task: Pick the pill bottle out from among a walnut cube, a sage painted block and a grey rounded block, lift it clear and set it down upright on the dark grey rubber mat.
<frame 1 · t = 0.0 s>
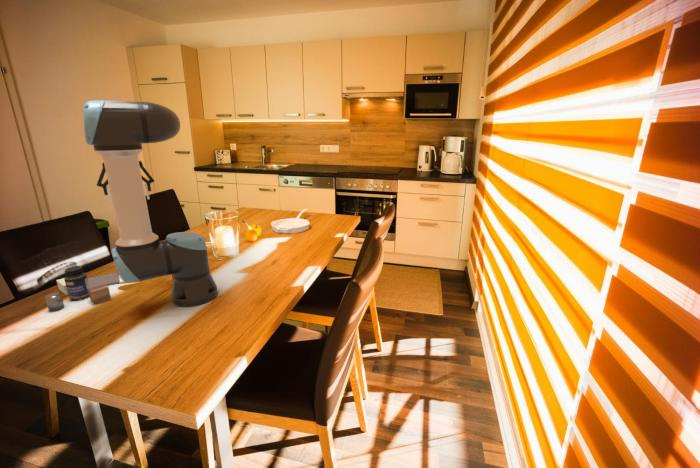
hand: (130, 200, 143), 28 cm above the table, fingers open, 13 cm apart
mat: (102, 281, 132), on the table
grey rounded block: (56, 308, 112), on the table
sage block: (69, 290, 125), on the table
walnut cube: (100, 300, 117), on the table
pan: (295, 225, 210), on the table
pill bottle: (81, 297, 120), on the table
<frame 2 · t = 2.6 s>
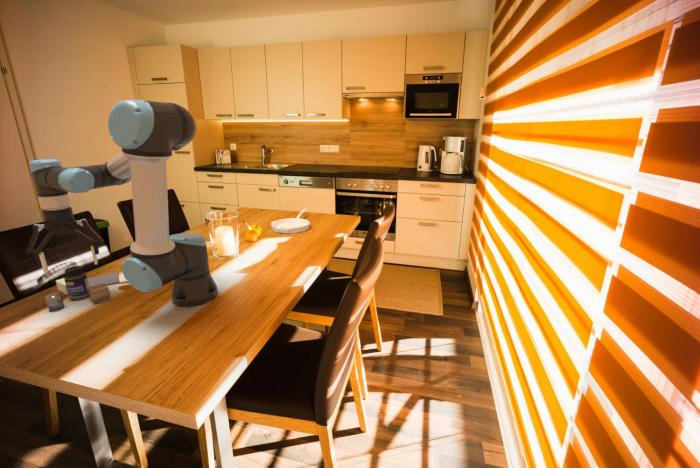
hand: (72, 267, 116), 11 cm above the table, fingers open, 13 cm apart
nothing on the table moved.
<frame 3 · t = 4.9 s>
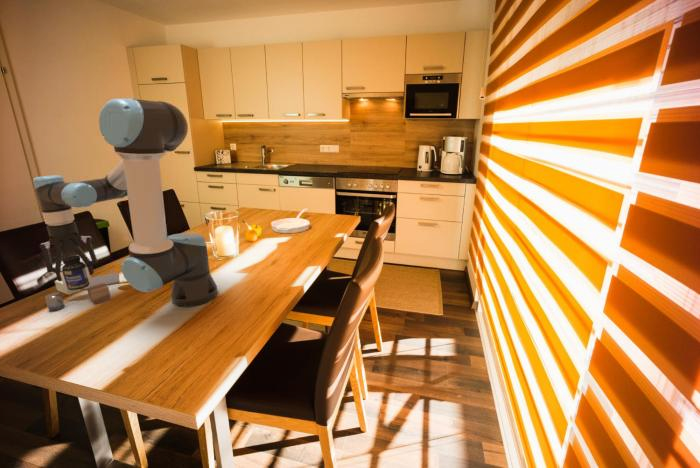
hand: (79, 285, 118), 4 cm above the table, fingers closed on pill bottle, 6 cm apart
pill bottle: (79, 287, 118), point 4 cm above the table, touching gripper
everything else where it was.
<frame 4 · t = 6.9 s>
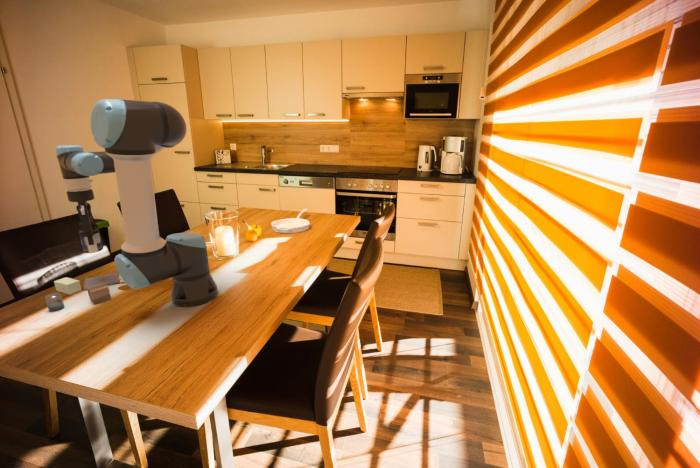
hand: (94, 249, 128), 13 cm above the table, fingers closed on pill bottle, 6 cm apart
pill bottle: (93, 251, 128), point 13 cm above the table, touching gripper
everything else where it was.
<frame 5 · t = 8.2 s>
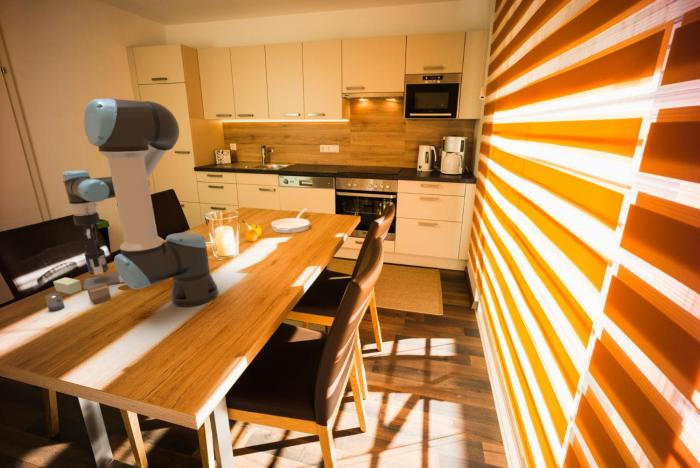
hand: (99, 270, 130), 5 cm above the table, fingers closed on pill bottle, 6 cm apart
pill bottle: (99, 272, 130), point 4 cm above the table, touching gripper
everything else where it was.
when the fingers open (2 cm above the table, at t = 9.1 s): pill bottle drops 1 cm, resting on mat.
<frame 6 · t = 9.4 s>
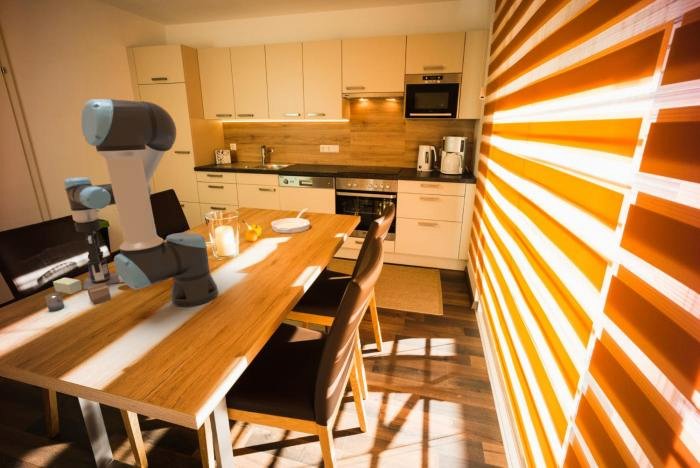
hand: (100, 274, 131), 3 cm above the table, fingers open, 10 cm apart
pill bottle: (101, 280, 131), resting on mat
everything else where it was.
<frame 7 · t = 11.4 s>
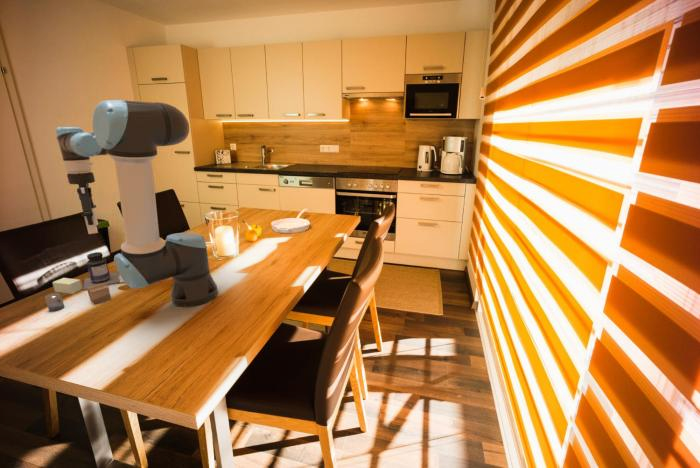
hand: (93, 229, 126), 21 cm above the table, fingers open, 13 cm apart
nothing on the table moved.
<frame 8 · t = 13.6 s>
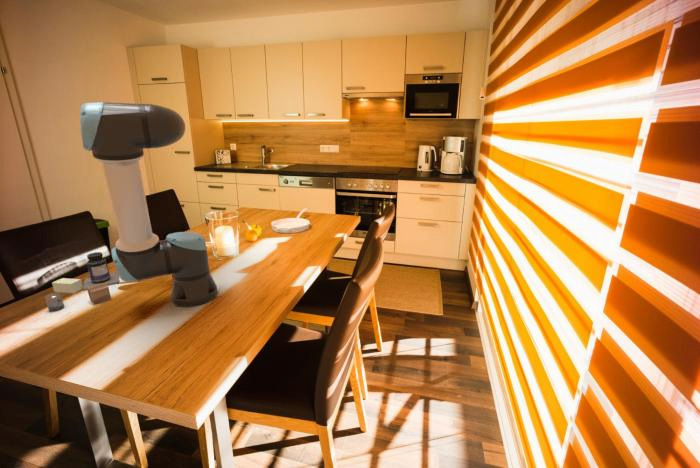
hand: (134, 202, 136), 29 cm above the table, fingers open, 13 cm apart
at the end: pill bottle inside the target area on the mat (0.2 cm from its centre), point 0.4 cm above the mat's base; pill bottle tilted 0°; the gripper is holding nothing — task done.
